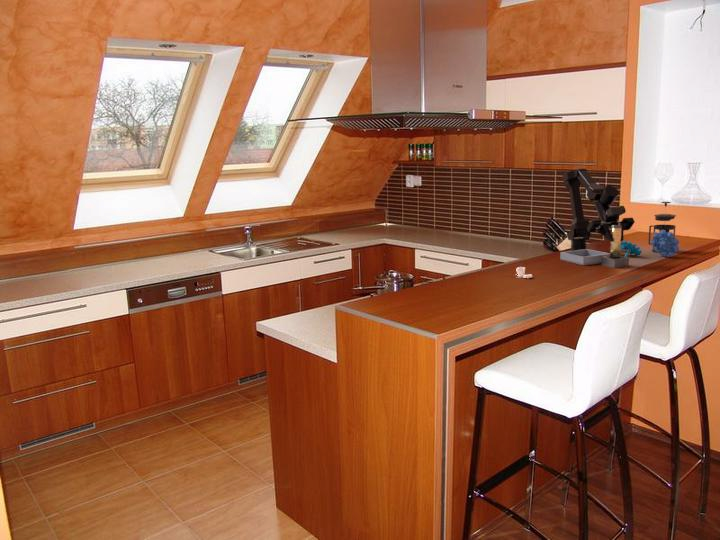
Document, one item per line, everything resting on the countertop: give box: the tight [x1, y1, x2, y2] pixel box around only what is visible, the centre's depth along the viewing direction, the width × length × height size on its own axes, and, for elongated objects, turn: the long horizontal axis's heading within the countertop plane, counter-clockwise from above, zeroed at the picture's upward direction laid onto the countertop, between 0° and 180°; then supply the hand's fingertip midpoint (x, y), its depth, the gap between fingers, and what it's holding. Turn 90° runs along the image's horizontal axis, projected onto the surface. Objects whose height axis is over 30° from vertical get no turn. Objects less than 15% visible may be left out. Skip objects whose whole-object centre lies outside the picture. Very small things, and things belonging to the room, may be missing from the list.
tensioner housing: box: [600, 255, 630, 269], centre depth 255 cm, size 8×8×4 cm
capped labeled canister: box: [609, 225, 622, 257], centre depth 254 cm, size 4×4×13 cm
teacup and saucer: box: [515, 266, 533, 279], centre depth 242 cm, size 9×8×4 cm
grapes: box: [650, 230, 680, 258], centre depth 267 cm, size 12×7×12 cm, turn 47°
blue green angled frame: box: [620, 240, 643, 257], centre depth 272 cm, size 11×6×10 cm
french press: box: [648, 201, 677, 254], centre depth 279 cm, size 12×9×23 cm
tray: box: [559, 248, 610, 266], centre depth 268 cm, size 15×15×4 cm
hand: (617, 240), depth 252 cm, fingers closed on capped labeled canister, 4 cm apart
